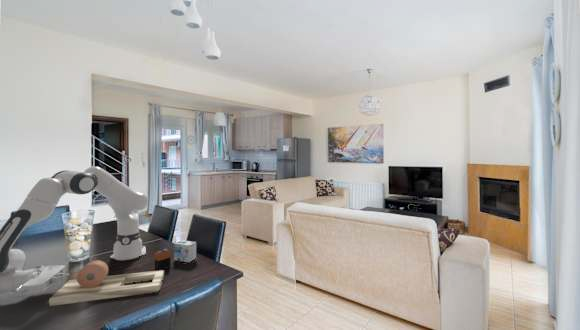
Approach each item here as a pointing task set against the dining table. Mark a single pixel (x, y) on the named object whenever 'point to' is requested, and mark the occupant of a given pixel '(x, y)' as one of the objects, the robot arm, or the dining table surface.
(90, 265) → the roller
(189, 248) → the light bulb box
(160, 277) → the board
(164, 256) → the battery
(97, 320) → the dining table surface
